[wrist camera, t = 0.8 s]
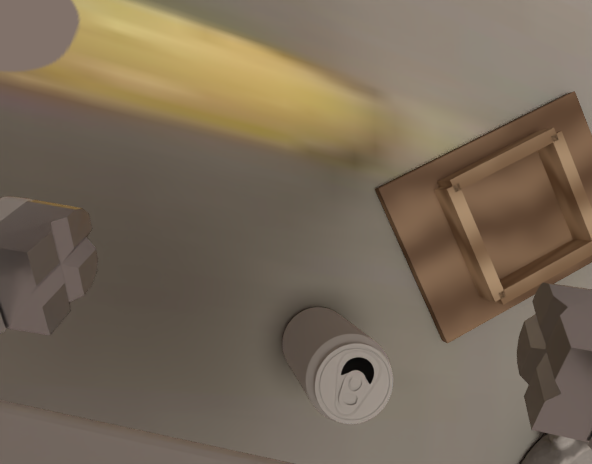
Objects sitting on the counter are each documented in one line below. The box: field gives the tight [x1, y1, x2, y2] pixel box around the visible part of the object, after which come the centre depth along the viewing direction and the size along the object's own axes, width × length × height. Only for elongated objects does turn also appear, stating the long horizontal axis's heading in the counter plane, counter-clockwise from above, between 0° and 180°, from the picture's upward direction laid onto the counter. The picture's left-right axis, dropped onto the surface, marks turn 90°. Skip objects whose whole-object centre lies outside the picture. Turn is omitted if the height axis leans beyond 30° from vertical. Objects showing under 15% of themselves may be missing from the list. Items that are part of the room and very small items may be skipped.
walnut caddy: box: [375, 91, 592, 343], centre depth 49 cm, size 16×22×4 cm
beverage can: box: [282, 307, 393, 424], centre depth 42 cm, size 6×6×12 cm
